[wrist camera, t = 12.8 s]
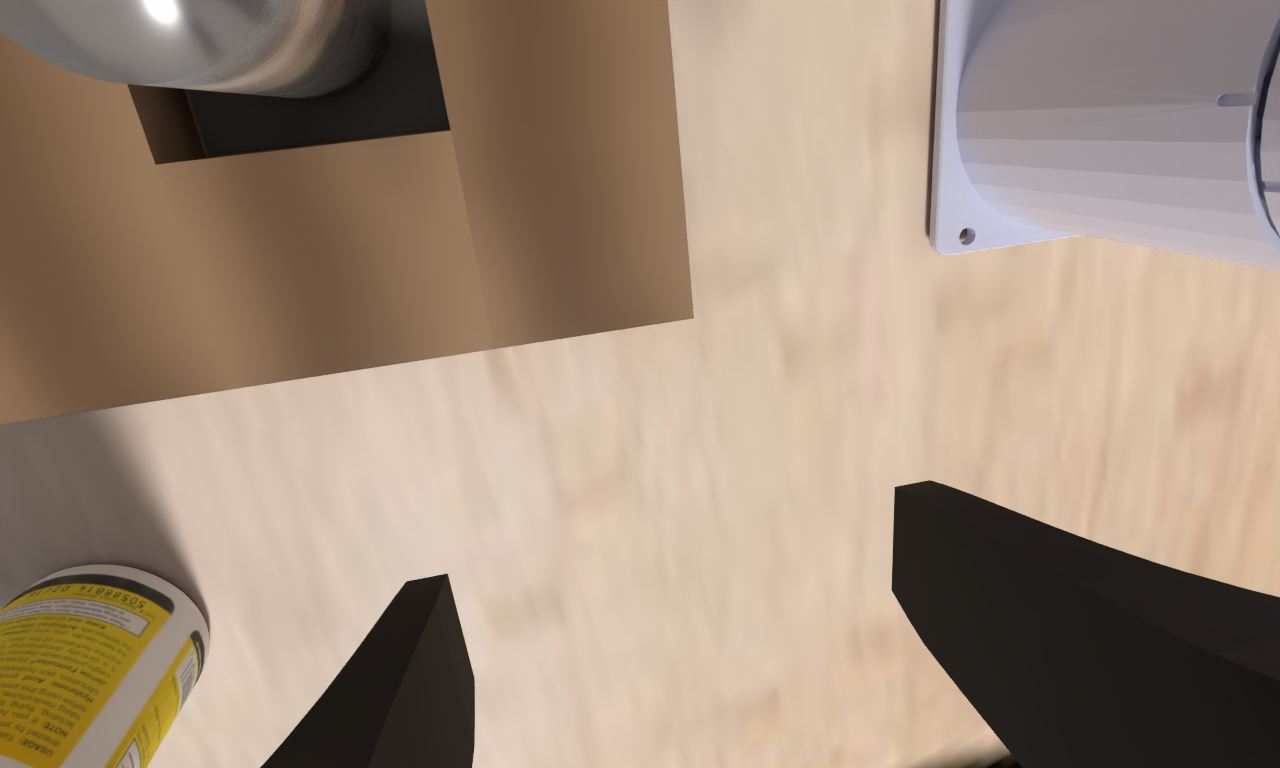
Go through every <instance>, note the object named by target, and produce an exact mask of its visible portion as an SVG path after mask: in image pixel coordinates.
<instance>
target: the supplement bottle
mask: <svg viewBox="0 0 1280 768" xmlns="http://www.w3.org/2000/svg"><path fill="white" fill-rule="evenodd" d="M209 645H210V642H209V632H208V628H207V625H206V623H205V620H204V618H203V616H202V614H201V612H200V611H199V609H198V608H197V607H196V605H195V604H194V603H193V602H192V601H191V600H190V598H189V597H187V596H186V595H185V594H184V593H183V592H182V591H181V590H179V589H178V588H176V587H175V586H174V585H172V584H170V583H169V582H167V581H165V580H163V579H162V578H160V577H157V576H155V575H153V574H151V573H148V572H145V571H142V570H139V569H135V568H131V567H126V566H121V565H106V564H99V565H84V566H78V567H72V568H68V569H64V570H61V571H58V572H56V573H53V574H51V575H49V576H47V577H45V578H43V579H41V580H39V581H38V582H36V583H34V584H33V585H31V586H30V587H29V588H27V589H26V590H25V591H23V592H22V593H21V594H20V595H18V596H17V597H16V598H15V599H13V600H12V601H11V602H10V603H9V604H8V605H7V606H6V607H5V608H4V609H3V610H2V611H0V768H147V766H148V764H149V763H150V761H151V759H152V757H153V756H154V754H155V752H156V750H157V749H158V747H159V745H160V744H161V742H162V740H163V739H164V737H165V735H166V734H167V732H168V730H169V729H170V727H171V725H172V723H173V722H174V720H175V718H176V717H177V715H178V713H179V712H180V710H181V708H182V706H183V705H184V703H185V701H186V700H187V698H188V696H189V694H190V693H191V691H192V689H193V687H194V686H195V684H196V682H197V681H198V679H199V677H200V674H201V672H202V670H203V668H204V666H205V664H206V661H207V657H208V653H209Z"/></svg>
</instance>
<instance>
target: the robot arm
mask: <svg viewBox="0 0 1280 768" xmlns="http://www.w3.org/2000/svg"><path fill="white" fill-rule="evenodd" d="M965 228H966V229H967V233H968V234H967V237H966V239H965V240H964V241H963V242H961V243H960V240H959V236H960V233H961V232H962V230H963V229H965ZM1082 235H1083V236H1088V237H1094V238H1099V239H1105V240H1110V241H1116V242H1121V243H1126V244H1132V245H1137V246H1143V247H1148V248H1154V249H1159V250H1165V251H1170V252H1176V253H1181V254H1187V255H1192V256H1197V257H1203V258H1208V259H1214V260H1219V261H1225V262H1230V263H1236V264H1241V265H1247V266H1252V267H1257V268H1263V269H1268V270H1274V271H1279V272H1280V0H941V1H940V23H939V45H938V66H937V88H936V110H935V131H934V153H933V174H932V196H931V218H930V246H931V247H932V249H933V250H934V251H936V252H937V253H940V254H943V255H954V254H961V253H968V252H974V251H981V250H988V249H994V248H1001V247H1008V246H1015V245H1021V244H1028V243H1035V242H1041V241H1048V240H1055V239H1061V238H1068V237H1075V236H1082ZM892 591H893V593H894V595H895V597H896V598H897V600H898V602H899V603H900V605H901V607H902V609H903V610H904V612H905V614H906V615H907V617H908V619H909V621H910V622H911V624H912V625H913V627H914V629H915V630H916V632H917V633H918V635H919V637H920V638H921V640H922V641H923V643H924V644H925V646H926V647H927V648H928V650H929V651H930V652H931V653H932V655H933V656H934V657H935V659H936V660H937V661H938V662H939V664H940V665H941V666H942V668H943V669H944V670H945V671H946V673H947V674H948V675H949V676H950V678H951V679H952V680H953V681H954V683H955V684H956V685H957V687H958V688H959V689H960V690H961V692H962V693H963V694H964V695H965V697H966V698H967V699H968V700H969V701H970V703H971V704H972V705H973V706H974V708H975V709H976V710H977V711H978V713H979V714H980V715H981V716H982V718H983V719H984V720H985V721H986V723H987V724H988V725H989V726H990V728H991V729H992V730H993V731H994V733H995V734H996V735H997V736H998V738H999V739H1000V740H1001V741H1002V743H1003V744H1004V745H1005V746H1006V748H1007V749H1008V750H1009V751H1010V752H1011V754H1012V755H1013V756H1014V757H1015V759H1016V760H1017V761H1018V762H1019V764H1020V765H1021V766H1022V767H1023V768H1280V597H1276V596H1272V595H1268V594H1264V593H1260V592H1256V591H1252V590H1248V589H1244V588H1241V587H1237V586H1234V585H1230V584H1226V583H1223V582H1219V581H1216V580H1212V579H1209V578H1205V577H1202V576H1198V575H1194V574H1191V573H1187V572H1184V571H1180V570H1177V569H1174V568H1171V567H1168V566H1164V565H1161V564H1158V563H1155V562H1152V561H1149V560H1146V559H1143V558H1140V557H1137V556H1134V555H1131V554H1128V553H1125V552H1122V551H1119V550H1116V549H1113V548H1110V547H1108V546H1105V545H1102V544H1099V543H1096V542H1093V541H1091V540H1088V539H1085V538H1083V537H1080V536H1077V535H1074V534H1072V533H1069V532H1066V531H1064V530H1061V529H1058V528H1056V527H1053V526H1051V525H1048V524H1045V523H1043V522H1040V521H1038V520H1035V519H1033V518H1030V517H1028V516H1025V515H1022V514H1020V513H1017V512H1015V511H1012V510H1010V509H1007V508H1005V507H1002V506H1000V505H997V504H995V503H992V502H989V501H987V500H984V499H982V498H979V497H977V496H974V495H971V494H969V493H966V492H963V491H961V490H958V489H955V488H952V487H949V486H946V485H944V484H940V483H937V482H934V481H930V480H929V481H924V482H919V483H914V484H908V485H903V486H898V487H895V500H894V533H893V566H892ZM474 733H475V684H474V675H473V671H472V667H471V664H470V660H469V656H468V652H467V648H466V644H465V640H464V636H463V632H462V628H461V624H460V621H459V617H458V613H457V609H456V605H455V601H454V597H453V593H452V589H451V585H450V581H449V577H448V574H443V575H438V576H433V577H428V578H423V579H418V580H412V581H407V582H406V583H405V584H404V585H403V587H402V588H401V589H400V591H399V592H398V593H397V595H396V596H395V597H394V599H393V600H392V601H391V603H390V604H389V606H388V607H387V608H386V610H385V611H384V613H383V614H382V615H381V617H380V618H379V620H378V621H377V622H376V624H375V625H374V627H373V628H372V629H371V631H370V632H369V633H368V635H367V636H366V638H365V639H364V640H363V642H362V643H361V645H360V646H359V647H358V649H357V650H356V651H355V653H354V654H353V655H352V657H351V658H350V659H349V661H348V662H347V663H346V665H345V666H344V667H343V668H342V670H341V671H340V672H339V674H338V675H337V676H336V678H335V679H334V680H333V682H332V683H331V684H330V686H329V687H328V688H327V690H326V691H325V692H324V693H323V695H322V696H321V697H320V698H319V700H318V701H317V702H316V703H315V704H314V706H313V707H312V708H311V709H310V710H309V712H308V713H307V714H306V715H305V716H304V718H303V719H302V720H301V721H300V723H299V724H298V725H297V726H296V727H295V729H294V730H293V731H292V732H291V733H290V735H289V736H288V737H287V738H286V739H285V741H284V742H283V743H282V744H281V745H280V746H279V747H278V749H277V750H276V751H275V752H274V753H273V754H272V755H271V756H270V758H269V759H268V760H267V761H266V762H265V763H264V764H263V765H262V766H261V767H260V768H472V762H473V753H474Z"/></svg>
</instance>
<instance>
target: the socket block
mask: <svg viewBox="0 0 1280 768" xmlns="http://www.w3.org/2000/svg"><path fill="white" fill-rule="evenodd" d="M390 4H391V16H392V22H391V33H390V38H389V43H388V46H387V49H386V52H385V55H384V57H383V59H382V61H381V63H380V64H379V66H378V67H377V69H376V70H375V71H374V73H373V74H372V75H371V76H370V77H369V78H368V79H367V80H366V81H365V82H364V83H363V84H361V85H360V86H359V87H357V88H356V89H354V90H352V91H350V92H348V93H346V94H343V95H340V96H338V97H333V98H328V99H317V100H312V99H299V98H287V97H275V96H263V95H251V94H240V93H228V92H216V91H204V90H192V89H180V88H168V87H157V86H145V85H133V84H121V83H113V82H108V81H103V80H98V79H93V78H90V77H86V76H83V75H80V74H77V73H74V72H71V71H68V70H66V69H63V68H61V67H59V66H57V65H54V64H52V63H50V62H48V61H45V60H44V59H42V58H40V57H38V56H37V55H35V54H33V53H31V52H30V51H28V50H26V49H24V48H23V47H21V46H20V45H18V44H17V43H15V42H14V41H13V40H11V39H10V38H8V37H7V36H5V35H4V34H3V33H1V32H0V425H2V424H9V423H15V422H22V421H29V420H35V419H42V418H48V417H55V416H61V415H68V414H74V413H81V412H87V411H94V410H100V409H107V408H113V407H120V406H126V405H133V404H139V403H146V402H152V401H159V400H165V399H172V398H178V397H185V396H191V395H198V394H204V393H211V392H217V391H224V390H230V389H237V388H243V387H250V386H256V385H263V384H269V383H276V382H282V381H289V380H295V379H302V378H308V377H315V376H321V375H328V374H334V373H341V372H347V371H354V370H360V369H367V368H373V367H380V366H386V365H393V364H399V363H406V362H412V361H419V360H425V359H432V358H438V357H445V356H452V355H458V354H465V353H471V352H478V351H484V350H491V349H497V348H504V347H510V346H517V345H523V344H530V343H536V342H543V341H549V340H556V339H562V338H569V337H575V336H582V335H588V334H595V333H601V332H608V331H614V330H621V329H627V328H634V327H640V326H647V325H653V324H660V323H666V322H673V321H679V320H686V319H692V318H694V315H693V303H692V291H691V279H690V267H689V255H688V243H687V231H686V219H685V207H684V195H683V182H682V170H681V158H680V146H679V134H678V122H677V110H676V98H675V86H674V74H673V62H672V50H671V38H670V26H669V14H668V2H667V0H390Z"/></svg>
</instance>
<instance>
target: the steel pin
mask: <svg viewBox="0 0 1280 768" xmlns="http://www.w3.org/2000/svg"><path fill="white" fill-rule="evenodd" d="M391 22H392V16H391V4H390V0H0V32H1V33H3V34H4V35H5V36H7V37H8V38H10V39H11V40H13V41H14V42H15V43H17V44H18V45H20V46H21V47H23V48H24V49H26V50H28V51H30V52H31V53H33V54H35V55H37V56H38V57H40V58H42V59H44V60H45V61H48V62H50V63H52V64H54V65H57V66H59V67H61V68H63V69H66V70H68V71H71V72H74V73H77V74H80V75H83V76H86V77H90V78H93V79H98V80H103V81H108V82H113V83H121V84H133V85H145V86H157V87H168V88H180V89H192V90H204V91H216V92H228V93H240V94H251V95H263V96H275V97H287V98H299V99H312V100H317V99H328V98H333V97H338V96H340V95H343V94H346V93H348V92H350V91H352V90H354V89H356V88H357V87H359V86H360V85H361V84H363V83H364V82H365V81H366V80H367V79H368V78H369V77H370V76H371V75H372V74H373V73H374V71H375V70H376V69H377V67H378V66H379V64H380V63H381V61H382V59H383V57H384V55H385V52H386V49H387V46H388V43H389V38H390V33H391Z"/></svg>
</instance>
